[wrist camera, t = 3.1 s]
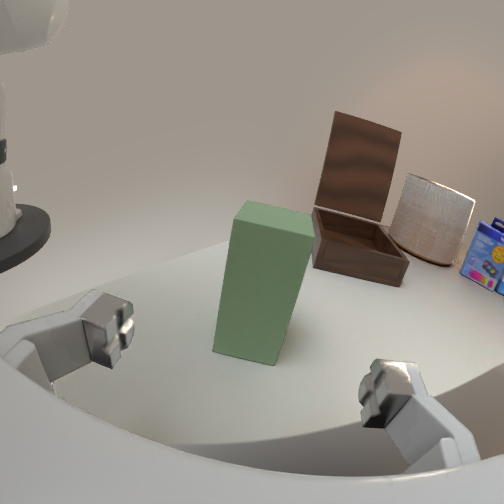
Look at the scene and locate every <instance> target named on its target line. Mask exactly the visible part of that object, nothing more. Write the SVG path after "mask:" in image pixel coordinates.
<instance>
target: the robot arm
mask: <svg viewBox="0 0 504 504" xmlns="http://www.w3.org/2000/svg"><path fill="white" fill-rule="evenodd" d="M68 14H69V1H68V0H0V55H1V54H7V53H15V52H23V51H26V50H30V49H33V48H37V47H40V46H44V45H48V44H49V43H50V42H52V41H53V40H54V39H55V38H56V37H57V36H58V34H59V33H60V32H61V30H62V29H63V27H64V25H65V23H66V21H67V18H68ZM7 101H8V93H7V89H6V87H5V86H4V84H3V83H2V82H0V238H2V237H3V236H5V235H6V234H8V233H9V232H10V231H11V230H12V229H13V228H14V227H15V224H16V221H17V220H18V219H19V218H20V217H21V216H22V211H21V209H17V208H16V205H15V197H14V190H16V186H13V179H12V172H11V171H10V170H9V169H7V168H6V166H5V163H4V162H5V161H6V152H7V147H6V139H4V134H5V120H6V110H7ZM133 313H134V312H133V304H132V303H131V302H129V301H126V300H123V299H121V298H118V297H115V296H113V295H110V294H107V293H104V292H101V291H99V290H96V289H94V290H91V291H90V292H89V293H87V294H86V295H85V296H84V297H83V298H82V299H81V300H80V301H79V302H77V303H76V304H75V305H74V306H73V307H72V308H71V309H70V310H69V311H68V312H67V313H66V312H64V311H62V312H58V313H55V314H51V315H47V316H44V317H40V318H36V319H33V320H29V321H25V322H21V323H18V324H14V325H10V326H8V327H6V328H5V329H4V330H3V331H2V332H1V333H0V504H504V454H501V455H498V456H495V457H492V458H488V459H484V460H481V459H480V455H479V452H478V449H477V446H476V443H475V440H474V437H473V434H472V433H471V432H470V431H469V430H468V429H467V428H466V427H465V426H464V425H462V424H461V423H460V422H459V421H458V420H457V419H456V418H455V417H454V416H453V415H452V414H451V413H450V412H449V411H448V410H446V409H445V408H444V407H443V406H442V405H441V404H440V403H439V402H438V401H437V400H436V399H434V398H433V397H432V396H428V393H427V391H426V388H425V385H424V382H423V380H422V377H421V375H420V372H419V369H418V367H417V365H416V364H415V363H414V362H404V361H402V362H400V361H392V360H383V359H376V360H374V361H373V363H372V364H371V366H370V369H371V372H370V373H369V374H367V375H365V376H364V378H363V379H362V381H361V383H360V387H359V392H358V398H359V402H360V403H361V404H362V406H363V407H364V408H363V409H362V410H361V419H362V426H363V427H367V428H384V430H385V432H386V433H387V435H388V436H389V437H390V439H391V440H392V442H393V443H394V445H395V446H396V447H397V449H398V450H399V452H400V453H401V454H402V456H403V457H404V459H405V460H406V462H407V463H408V464H409V467H408V468H407V469H406V470H405V471H403V472H402V473H401V474H400V475H388V476H366V477H340V476H339V477H338V476H317V475H303V474H293V473H285V472H276V471H270V470H263V469H257V468H252V467H246V466H241V465H236V464H231V463H227V462H222V461H218V460H214V459H210V458H206V457H202V456H198V455H195V454H191V453H188V452H185V451H181V450H178V449H174V448H172V447H169V446H166V445H163V444H160V443H157V442H154V441H152V440H149V439H146V438H144V437H141V436H138V435H136V434H133V433H131V432H129V431H126V430H124V429H122V428H119V427H117V426H115V425H112V424H110V423H108V422H106V421H104V420H102V419H100V418H97V417H95V416H93V415H91V414H89V413H87V412H85V411H84V410H82V409H80V408H78V407H76V406H74V405H72V404H70V403H69V402H67V401H65V400H63V399H62V398H60V397H58V396H57V395H55V392H54V390H53V388H52V386H51V384H50V382H52V381H54V380H56V379H58V378H60V377H62V376H64V375H66V374H68V373H70V372H72V371H74V370H76V369H78V368H80V367H82V366H84V365H86V364H88V363H90V362H91V361H93V362H95V363H98V364H100V365H103V366H105V367H108V368H110V369H113V368H114V366H115V365H116V363H117V362H118V360H119V359H120V358H121V352H120V351H121V350H124V349H126V348H128V346H129V345H130V343H131V341H132V338H133V336H134V322H133V320H132V319H131V317H130V316H131V315H132V314H133Z"/></svg>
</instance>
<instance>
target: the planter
mask: <svg viewBox="0 0 504 504" xmlns="http://www.w3.org/2000/svg"><path fill="white" fill-rule="evenodd" d="M474 204H475V201H474V200H473V199H471V198H469V197H467V196H465V195H462V194H460V193H458V192H456V191H453V190H451V189H449V188H447V187H444V186H442V185H440V184H437V183H435V182H432V181H430V180H427V179H425V178H422V177H419V176H417V175H414V174H411V173H407V176H406V180H405V184H404V187H403V190H402V194H401V197H400V200H399V203H398V207H397V209H396V212H395V215H394V219H393V221H392V224H391V227H390V231H389V235H390V237H391V239H392V240H393V241H394V242H395V243H396V244H397V245H398V246H399V247H401V248H402V249H404V250H405V251H407V252H409V253H410V254H412V255H414V256H416V257H418V258H421V259H423V260H426V261H428V262H431V263H435V264H439V265H449V264H452V263H453V262H454V261H455V259H456V256H457V254H458V251H459V249H460V246H461V243H462V240H463V238H464V235H465V232H466V229H467V226H468V223H469V220H470V217H471V214H472V211H473V207H474Z"/></svg>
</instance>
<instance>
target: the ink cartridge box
mask: <svg viewBox="0 0 504 504" xmlns="http://www.w3.org/2000/svg"><path fill="white" fill-rule="evenodd" d="M495 222H500V223H501V224H503V225H504V222H503V221H501V220H500V219H498V218H496V217H495V218H494V220H493V223H492V224H491V225H489V224H487V223H485V222H483V221H481V220H480V221H479V224H478V226H477V229H476V232H475V234H474V237H473V239H472V242H471V245H470V247H469V250H468V252H467V255H466V258H465V260H464V263H463V265H462V268H461V270H460V273H461V274H462V275H464V276H466V277H468V278H470V279H471V280H473V281H475V282H477V283H478V284H480V285H482V286H484V287H485V288H487V289H489V290H490V291H492V292H493V291H494V289H495V287H496V285H497V282H498V280H499V278H500V276H501V274H502V272H503V269H504V228H503V227H501V226H498V225H497V224H495Z"/></svg>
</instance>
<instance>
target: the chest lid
mask: <svg viewBox="0 0 504 504" xmlns="http://www.w3.org/2000/svg"><path fill="white" fill-rule="evenodd" d="M401 134H402V132H399V131H397V130H394V129H391V128H388V127H386V126H383V125H380V124H376V123H374V122H371V121H368V120H364V119H361V118H358V117H355V116H351V115H348V114H345V113H341V112H337V111H335V113H334V119H333V123H332V128H331V133H330V138H329V142H328V147H327V152H326V156H325V161H324V165H323V170H322V174H321V178H320V183H319V187H318V191H317V195H316V199H315V205H318V206H322V207H325V208H330V209H333V210H337V211H341V212H345V213H349V214H352V215H356V216H360V217H364V218H367V219H370V220H374V221H377V222H381V219H382V215H383V211H384V207H385V204H386V201H387V197H388V193H389V189H390V185H391V181H392V176H393V172H394V167H395V163H396V159H397V154H398V149H399V144H400V139H401Z"/></svg>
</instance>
